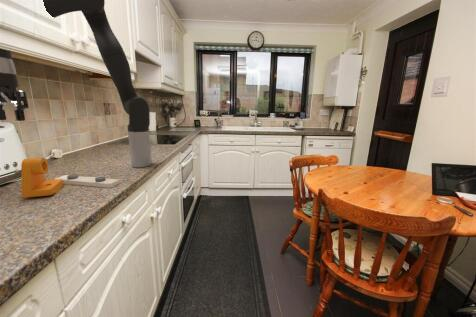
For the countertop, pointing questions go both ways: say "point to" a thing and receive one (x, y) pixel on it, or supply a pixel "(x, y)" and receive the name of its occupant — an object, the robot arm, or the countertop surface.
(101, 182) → the board
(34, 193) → the bracket
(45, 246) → the countertop surface
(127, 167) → the countertop surface
